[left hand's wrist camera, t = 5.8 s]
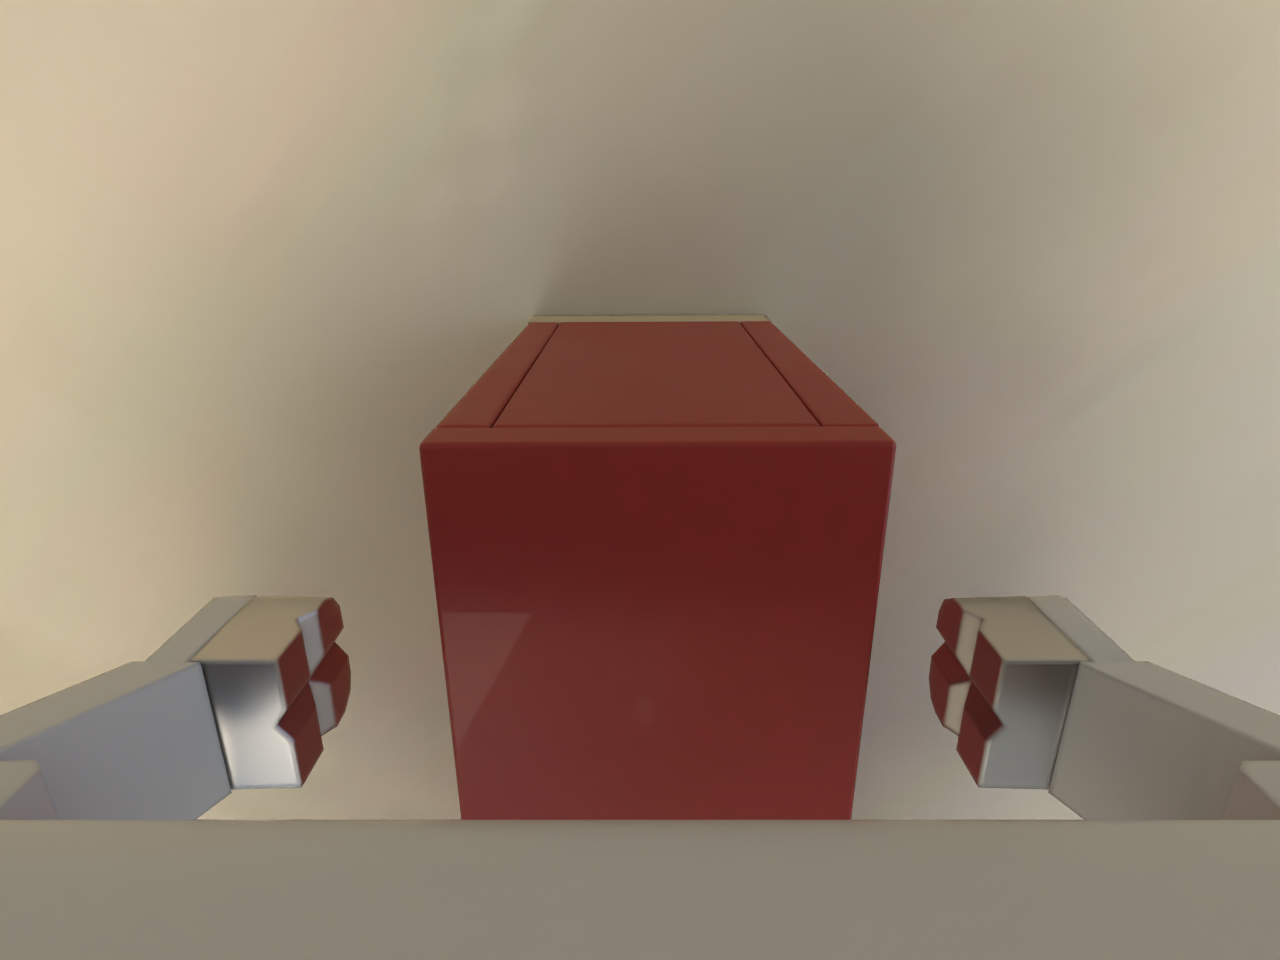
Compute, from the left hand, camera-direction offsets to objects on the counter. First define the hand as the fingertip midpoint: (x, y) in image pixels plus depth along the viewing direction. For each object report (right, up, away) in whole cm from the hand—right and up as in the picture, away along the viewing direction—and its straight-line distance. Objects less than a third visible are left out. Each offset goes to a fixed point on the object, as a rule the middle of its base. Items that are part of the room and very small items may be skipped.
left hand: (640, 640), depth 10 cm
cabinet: (0, -3, +11) cm, 11 cm away
